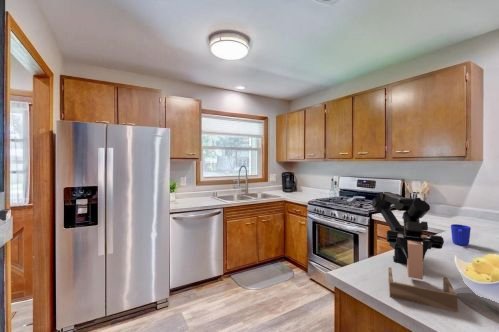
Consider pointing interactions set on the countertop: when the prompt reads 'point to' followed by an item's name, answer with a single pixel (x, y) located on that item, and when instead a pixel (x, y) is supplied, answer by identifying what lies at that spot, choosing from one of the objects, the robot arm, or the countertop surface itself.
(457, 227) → the mug
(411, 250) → the block
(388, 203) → the robot arm
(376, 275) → the countertop surface
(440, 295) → the brown u-shaped piece
